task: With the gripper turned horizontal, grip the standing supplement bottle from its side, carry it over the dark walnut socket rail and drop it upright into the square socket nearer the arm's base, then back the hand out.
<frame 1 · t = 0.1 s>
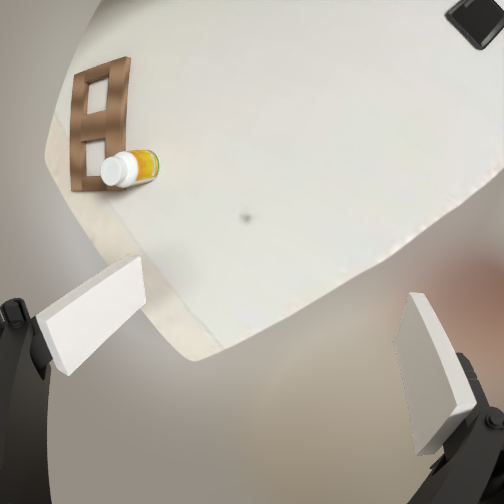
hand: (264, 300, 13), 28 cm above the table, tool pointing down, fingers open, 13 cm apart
socket rail: (98, 126, 42), on the table
supplement bottle: (149, 165, 42), on the table
phone: (479, 17, 19), on the table
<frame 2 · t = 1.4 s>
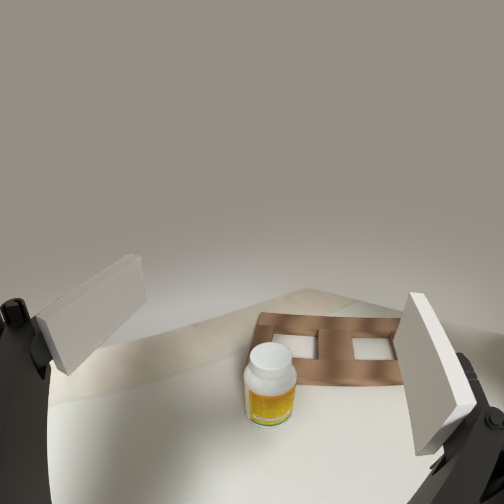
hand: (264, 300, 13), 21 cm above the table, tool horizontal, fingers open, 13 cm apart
socket rail: (334, 351, 38), on the table
supplement bottle: (268, 413, 29), on the table
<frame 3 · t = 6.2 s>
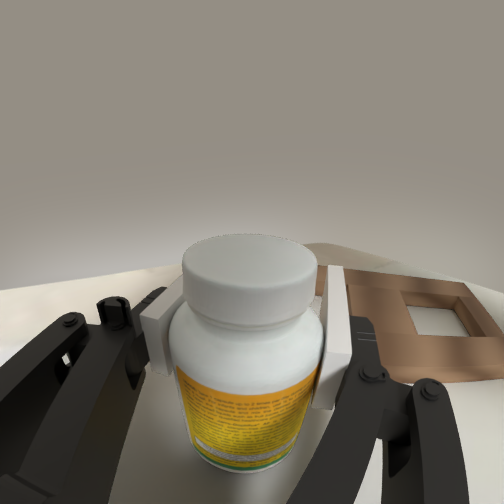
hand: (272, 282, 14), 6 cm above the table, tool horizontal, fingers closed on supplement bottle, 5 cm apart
socket rail: (375, 322, 21), on the table
supplement bottle: (243, 434, 12), on the table, touching gripper
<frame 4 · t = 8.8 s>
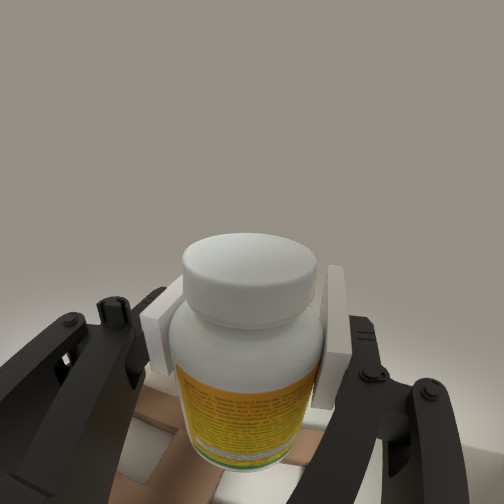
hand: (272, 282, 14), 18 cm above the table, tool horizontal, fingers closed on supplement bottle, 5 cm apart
socket rail: (191, 473, 18), on the table
supplement bottle: (242, 433, 12), point 11 cm above the table, touching gripper
when the fingers open (8 cm above the table, at t = 11.4 s): supplement bottle drops 2 cm, resting in socket rail.
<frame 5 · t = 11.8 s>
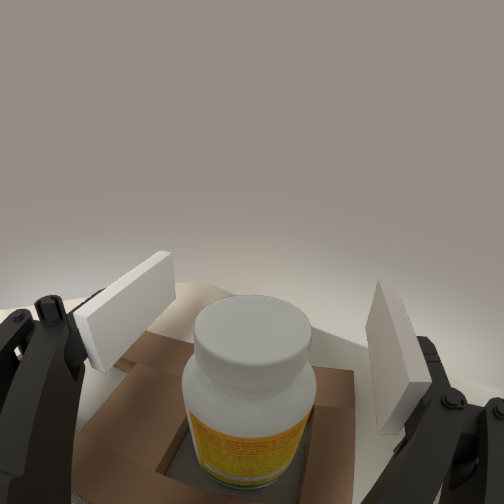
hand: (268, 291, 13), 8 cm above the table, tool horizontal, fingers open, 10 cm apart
socket rail: (148, 423, 14), on the table
supplement bottle: (244, 455, 13), resting in socket rail
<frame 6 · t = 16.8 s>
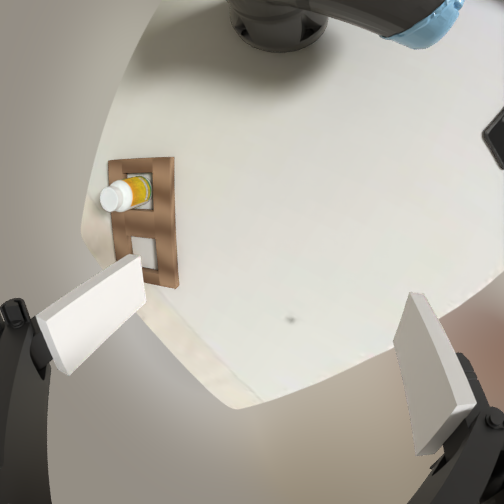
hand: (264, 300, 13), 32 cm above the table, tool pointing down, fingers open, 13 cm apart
socket rail: (143, 222, 50), on the table
supplement bottle: (142, 189, 48), resting in socket rail
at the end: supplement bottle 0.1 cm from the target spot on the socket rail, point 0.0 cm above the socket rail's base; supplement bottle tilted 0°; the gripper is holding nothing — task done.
